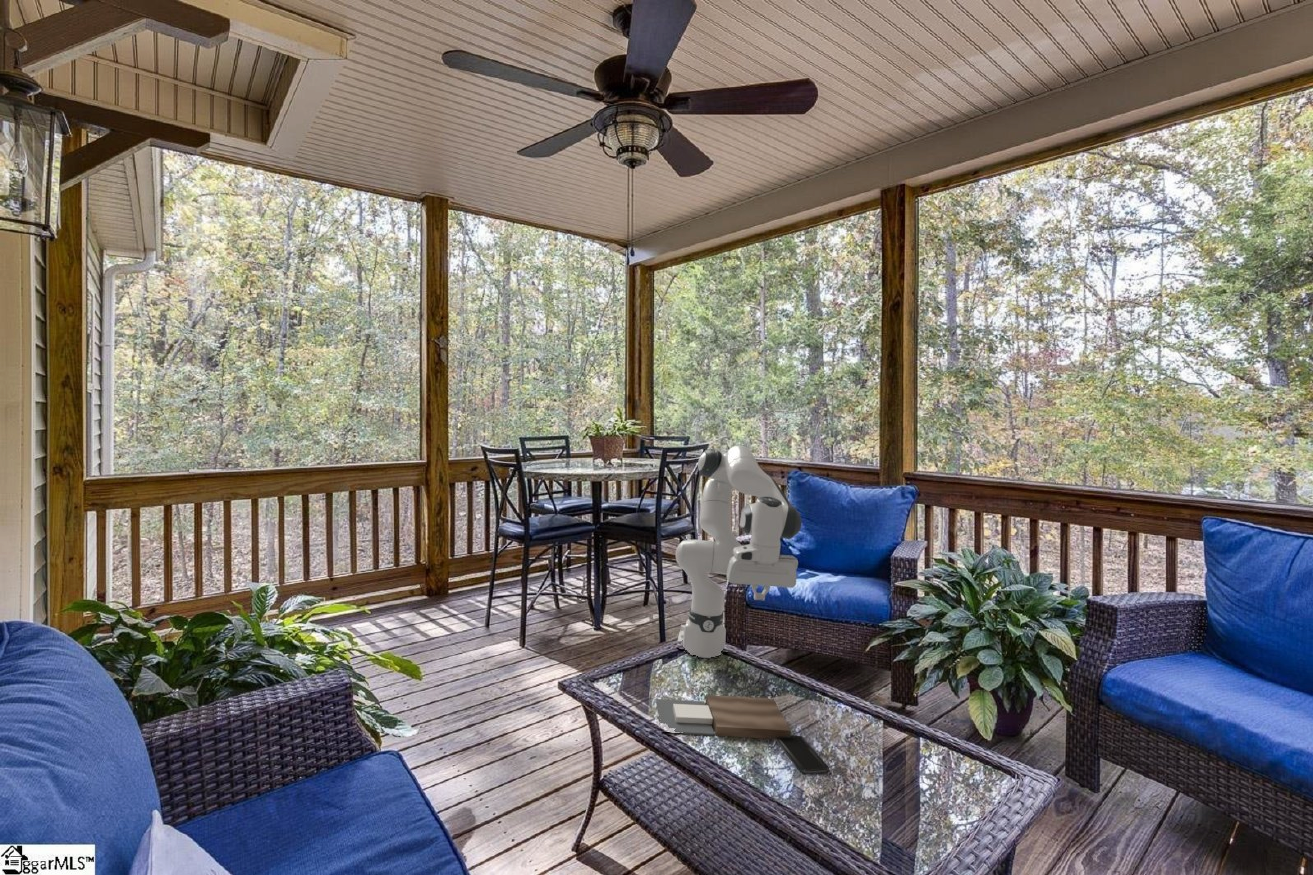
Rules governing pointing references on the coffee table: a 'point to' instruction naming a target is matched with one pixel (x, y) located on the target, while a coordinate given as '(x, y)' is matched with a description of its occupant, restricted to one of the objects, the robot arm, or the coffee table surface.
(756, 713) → the wooden board
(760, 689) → the coffee table surface
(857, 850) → the coffee table surface
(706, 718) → the tile
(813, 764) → the phone
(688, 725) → the mat
